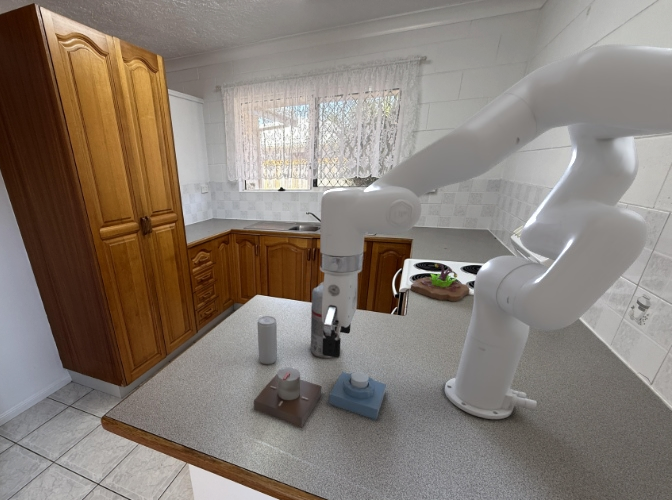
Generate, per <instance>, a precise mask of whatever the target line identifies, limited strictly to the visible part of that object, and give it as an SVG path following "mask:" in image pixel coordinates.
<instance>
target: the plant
mask: <svg viewBox="0 0 672 500" xmlns="http://www.w3.org/2000/svg"><path fill="white" fill-rule="evenodd" d="M434 267H435V268H439V267H440V268H441V271H440V273H437V275H436V274H435V273H430V276H426V277H422V278H418V279H414V280H413V283H411V285H410V291H412V292H415V293H418V294H420V295H422V296H426V297H429V298H431V299H436V300H438V301H449V302H459V301H461V300H462V299H463V298H464V297H465V296H469V294H470V291H471V289H470V287H469V286H468V285H467V284H465V283H461V282H458V280H457V278H458V273H456V272H455V271H453V268H450V267H449V268H447V269H446V270H445V268H444V265H443V263H439V262H438V263H435V264H434ZM449 274H453V278H452V279H451V277H452V276H451V275H449Z"/></svg>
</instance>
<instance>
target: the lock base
mask: <svg viewBox="0 0 672 500" xmlns="http://www.w3.org/2000/svg"><path fill="white" fill-rule="evenodd" d="M322 389H323V386H322V385H319V384H317V383H313V382H310V381H307V380H304V379H301V378H300V395H299V396H298V397H297V398H296V399H294V400H284V399H282V398H280V397H279V395H278V386H277V373H276V374H275V375H274V376H273V377H272V379H271V380H270V381H269V382H268V383H267V384H266V386H265V387H264V388H262V390H261V391H260V393H258V395H257V396H256V397H255V399H253V409H254V411H257V412H260V413H262V414H264V415H266V416H267V415H268V416H269V417H272V418H275V419H277V420H280V421H281V422H285V423H287V424H290V425H293V426H295V427H297V428H299V429H300V428H301V429H302V428H303V427H304V426H305V425H304V424H305V423H306V421H307V420H308V418H309V416H310V415H311V413H312V411H313V410H314V408H315V406H316V405H317V403H318V401H319V399H320V398H321V396H322Z"/></svg>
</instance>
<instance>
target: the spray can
mask: <svg viewBox="0 0 672 500" xmlns="http://www.w3.org/2000/svg"><path fill="white" fill-rule="evenodd" d="M323 283H324V281H322V282H321V283H319V284H318V286H317V287H314V288H313V289H312V292H311V297H312V299H311V308H310V309H311V310H310V315H311V316H310V320H311V321H310V351H311V353H312V354H313V356H315V357H317V358H319V359H332V358H333V359H334V357H330V356H325V355H323V354H322V351H323V330H324V323H323V322H322V298H323ZM334 322H335V320H334ZM333 330H334V331H335V326H333ZM335 333H336V331H335ZM339 338H341V334H340V335H339Z"/></svg>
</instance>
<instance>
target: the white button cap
mask: <svg viewBox="0 0 672 500" xmlns="http://www.w3.org/2000/svg"><path fill="white" fill-rule="evenodd" d="M351 373H352V374H351ZM351 373H350V374H351V385H352V386H353V387H355V388H359V389H365V388H366V387H367V386H368V379H369V378H368V376H369V375H368V374H367V373H365V372H362V371H354V372H351Z"/></svg>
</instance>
